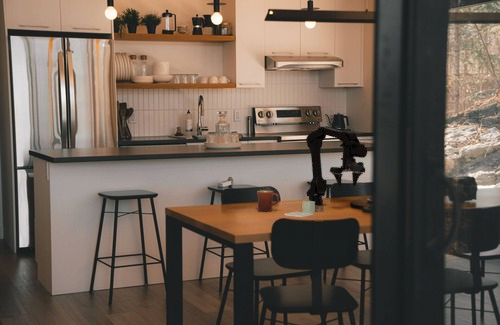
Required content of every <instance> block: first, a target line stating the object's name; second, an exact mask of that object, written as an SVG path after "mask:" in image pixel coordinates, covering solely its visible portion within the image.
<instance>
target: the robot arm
mask: <svg viewBox="0 0 500 325" xmlns="http://www.w3.org/2000/svg"><path fill="white" fill-rule="evenodd" d="M326 137H330V138H331V137H332V138H336V139H338V140H339V141H340V142H342V143H340V145H339V147H340V148H342V157H341V158H340V160H341V161H342V162H341V164H342V165H340V167H339V166H331V167H330V168H329V173H331V175H333V177H334V179H335V180H336V183H337V185H338V187H339V188H341V186H342V177H343V175H344V174H343V173H346V172H350V173H351V176H352V178H351V179H352V186H353V187H356V185H357V182H358V180H359V178H360V177H361V176H362V175H363V174H364V173H366V168H365V166H364V164H365V163H364V162H363V161H359V162H357V161H356V158H360V159H364V158H366V157H367V154H368V150H367V147H366V146H365V145H366V144H365V143H361V142H360V140H359V138H358V136H357V133H356V132H355V131H345V130H343V131H342V130H339V129H335V128H331V127H328V126H320V127H318V128H317V129H316V130H314V131H312V132H310V134H308V135H307V136H306V139H305V140H306V145H307V148H309V151H310V157H311V158H310V159H311V170H312V179H311V182H310V185H309V186H310V187H309V188H308V190H306V196H307V197H308V201H315V205H318V206H323V207H324V203H323V201H324V200H323V197H325V194H326V191H327V188H328V184H327V182H328V181H327V179H324V177H323V171H322V170H323V169H322V160H321V159H322V158H321V148H322V146H323V141H324V140H325V139H326Z"/></svg>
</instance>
